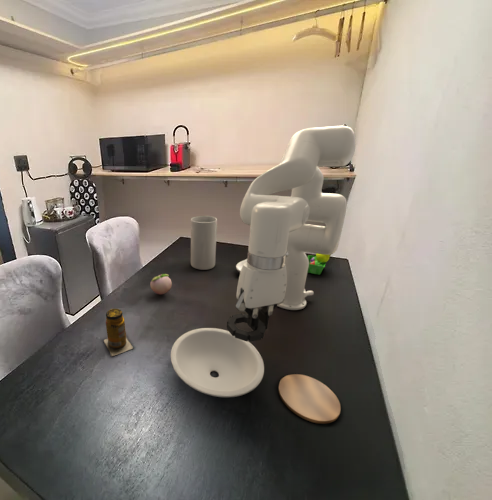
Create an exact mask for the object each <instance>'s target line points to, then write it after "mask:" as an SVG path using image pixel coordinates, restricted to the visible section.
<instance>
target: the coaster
mask: <svg viewBox="0 0 492 500" xmlns="http://www.w3.org/2000/svg"><path fill="white" fill-rule="evenodd" d="M277 390H278V394H279V397H280V399H281V401H282V403H283V404H284V405H285V406H286V407H287V408H288V409H289V410H290V411H291V412H292V413H293V414H295V415H296V416H298V417H300V418H302V419H304V420H305V421H309V422H311V423H315V424H323V425H324V424H330V423H333V422H335V421H336V420H338V419H339V417H340V414H341V409H342V407H341V402H340V400H339V398H338V397H337V395H336V394H335V393H334V391H333V390H331V389H330V387H328V386H327V385H326V384H324V383H323V382H322V381H320V380H318V379H316V378H314V377H311V376H308V375H305V374H298V373H296V374H295V373H294V374H288V375H285V376H284V377H282V378H281V379H280V381H279V383H278V389H277Z"/></svg>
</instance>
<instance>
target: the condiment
mask: <svg viewBox="0 0 492 500" xmlns="http://www.w3.org/2000/svg"><path fill="white" fill-rule="evenodd" d="M123 314H124V313H123V311H122V310H121V309H119V308H110V309H109V310H107V312H105V329H106V336H107V338H105V339H103V342H104V344H105V346H106V349H108V352H109V353H110V356H111V357H114V356H117V355H121V354H123V353H125V352H127V351H130V350H132V349H134V347H133V345H132V344H131V342H130V341H129V339H128V337H127V331H126V321H125V318H124V316H123Z"/></svg>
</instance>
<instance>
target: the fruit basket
mask: <svg viewBox="0 0 492 500" xmlns="http://www.w3.org/2000/svg"><path fill="white" fill-rule="evenodd" d="M330 257H331V255H324V254H318V253H315V255H312V254H311V255H309V254H308V255H307V258H308V260H309V267H308V272H307V274H309V273H310V274H314V275H318V276H320V275H321V274H322V272H323V270H324V268H325V267H326V265H327V263H328V261H329V260H330Z"/></svg>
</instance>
